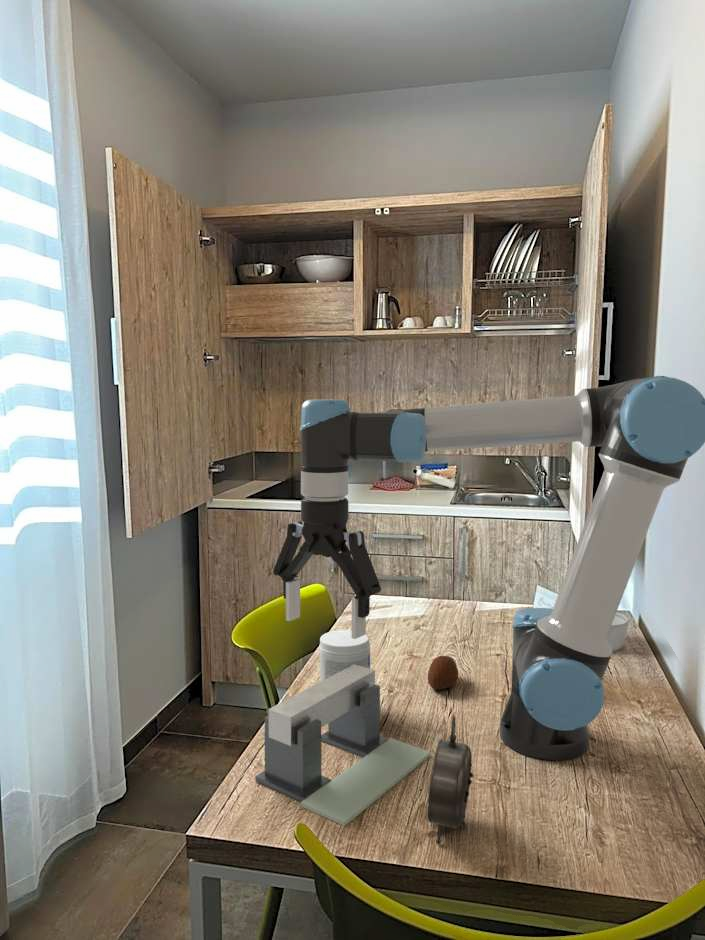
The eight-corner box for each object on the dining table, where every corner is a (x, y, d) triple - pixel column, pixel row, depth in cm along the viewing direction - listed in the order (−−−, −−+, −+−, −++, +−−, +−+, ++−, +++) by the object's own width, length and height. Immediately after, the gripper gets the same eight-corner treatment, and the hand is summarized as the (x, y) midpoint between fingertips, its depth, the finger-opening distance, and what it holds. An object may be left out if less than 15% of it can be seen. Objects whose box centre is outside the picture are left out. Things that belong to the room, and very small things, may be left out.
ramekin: (574, 631, 179) (575, 604, 179) (629, 639, 174) (631, 612, 173) (565, 648, 168) (566, 620, 167) (624, 658, 162) (626, 628, 161)
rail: (374, 695, 123) (374, 670, 122) (290, 746, 105) (290, 717, 105) (353, 688, 125) (354, 664, 125) (268, 737, 108) (268, 709, 107)
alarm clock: (438, 801, 105) (440, 697, 103) (474, 807, 103) (477, 702, 102) (424, 847, 95) (426, 732, 93) (465, 854, 93) (468, 738, 91)
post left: (331, 784, 109) (331, 720, 108) (304, 803, 104) (304, 736, 103) (282, 763, 115) (282, 703, 114) (255, 781, 110) (254, 717, 109)
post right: (388, 743, 122) (388, 685, 121) (366, 758, 117) (367, 698, 116) (342, 726, 128) (342, 671, 127) (319, 740, 123) (319, 683, 122)
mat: (430, 755, 118) (430, 752, 118) (344, 826, 99) (344, 822, 99) (390, 741, 123) (390, 737, 123) (300, 806, 104) (300, 802, 104)
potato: (463, 677, 150) (463, 648, 150) (452, 699, 140) (453, 668, 139) (435, 673, 152) (435, 644, 152) (422, 695, 142) (423, 664, 141)
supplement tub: (380, 716, 132) (380, 640, 131) (337, 729, 127) (337, 650, 125) (351, 697, 140) (352, 625, 139) (310, 708, 135) (310, 634, 133)
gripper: (404, 502, 107) (402, 637, 109) (282, 487, 122) (283, 606, 124) (375, 508, 101) (374, 651, 103) (251, 492, 116) (252, 617, 118)
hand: (324, 627), depth 114 cm, fingers open, 13 cm apart
